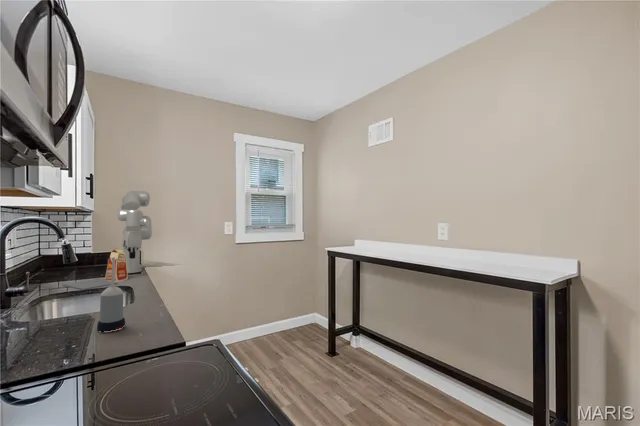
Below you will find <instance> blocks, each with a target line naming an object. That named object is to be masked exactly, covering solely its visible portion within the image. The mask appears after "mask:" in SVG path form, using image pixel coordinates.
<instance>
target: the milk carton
mask: <svg viewBox="0 0 640 426" xmlns="http://www.w3.org/2000/svg"><path fill="white" fill-rule="evenodd" d="M110 252H111V253H110V255H109V257H108V261H107V267H106V272H105V276H104V280H106V281H107V276H108V281H112V275H111V270H112V261H113V257H115V270H114V274H115V282H117V283H119V282H123V281H124V282H125V281H127V280H129V275H128V274H129V273H128V270H127V261H126V255H125V253H124V248H117V247H113V250H112V251H110ZM107 272H108V273H107Z"/></svg>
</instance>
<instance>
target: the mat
mask: <svg viewBox="0 0 640 426" xmlns="http://www.w3.org/2000/svg"><path fill="white" fill-rule="evenodd" d="M111 282H112V281H108V286H110V285H111ZM118 283H119V282H114V285H117V284H118ZM62 286H63V287H66V288H72V289H77V290H81V291H85V290H91V289H95V288H101V287H105V286H106V287H108V286H107V281H106V280H105V279H99V278H95V279H89V280H84V281H83V280H82V281H76V282H70V283H64V284H62Z"/></svg>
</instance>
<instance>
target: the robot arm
mask: <svg viewBox="0 0 640 426" xmlns="http://www.w3.org/2000/svg"><path fill="white" fill-rule="evenodd" d="M150 200H151V196H150V193H149V192H148V191H145V190H130V191H128V192H127V193H126V194H125V195H123V197H122V198H121V204H120V205H119V206H118V209H117V219H118V221H121V222H125V227H124V228H123V230H122V236H123V237H122V245H121V246H122V247H123V252H124V253H125V255H126V261H127V270H128V274H131V273H133V274H134V273H140V272H142V271H143V269H142V268H147V265H146V264H140V261H141V260H140V257H141V253H140V252H141V249H142V244H143V240H150V239H151V238H152V236H153V235H152V234H153V230H152V219H151V217H150V216H148V215H144V213H143V211H142V210H141V209H139V208H140V207H143V208H145V207H148V206H149V204H150Z"/></svg>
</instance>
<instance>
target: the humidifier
mask: <svg viewBox="0 0 640 426" xmlns="http://www.w3.org/2000/svg"><path fill="white" fill-rule="evenodd" d="M114 270H115V257H113V261H112V270H111V275H112V282H111V285H108V276H107V286H106V287H107V288H105V289H104V290H103V291H102V292H101V294H100V303H99V305H100V306H99V320H98V322H97V325H96V326H97V327H96V328H97V329H96V331H101V332H104V331H111V330H116V329H119V328H122V327H123V326H124V325H125V326H126V319H125V317H124V291H123V289H121V288H120V287H118V286H116V284H114V282H115V274H114ZM107 273H108V272H107Z"/></svg>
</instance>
